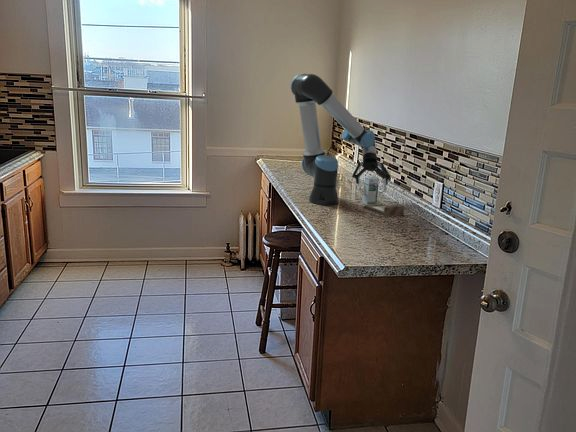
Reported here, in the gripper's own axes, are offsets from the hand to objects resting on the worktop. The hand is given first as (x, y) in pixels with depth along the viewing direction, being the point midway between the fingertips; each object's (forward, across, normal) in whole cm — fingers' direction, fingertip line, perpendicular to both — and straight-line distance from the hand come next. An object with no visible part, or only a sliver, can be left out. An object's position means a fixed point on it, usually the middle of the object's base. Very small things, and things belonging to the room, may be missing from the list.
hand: (372, 189), depth 267 cm
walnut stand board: (+15, -3, +4) cm, 16 cm away
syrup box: (+6, +1, -6) cm, 8 cm away
